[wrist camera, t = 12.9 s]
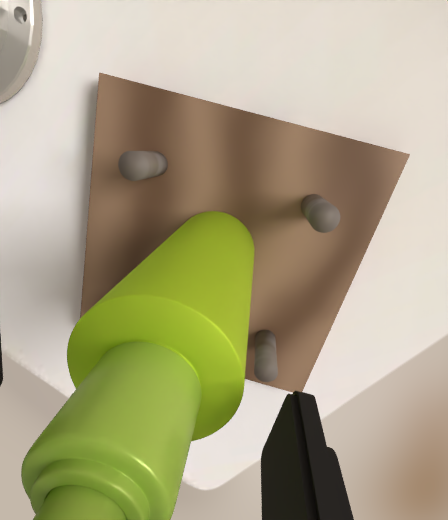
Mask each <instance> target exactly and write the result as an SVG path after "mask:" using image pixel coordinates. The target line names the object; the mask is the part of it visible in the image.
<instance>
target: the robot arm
mask: <svg viewBox="0 0 448 520" xmlns="http://www.w3.org/2000/svg"><path fill="white" fill-rule="evenodd" d="M42 21H43V18H42V7H41V0H0V103H2V102H4V101H6V100H8V99H10V98H11V97H12V96H13V95H14V94H16V93H17V92H18V91H19V90H20V89H21V88H22V87H23V85H24V84H25V82H26V81H27V80H28V78H29V77H30V75H31V73H32V70H33V68H34V66H35V63H36V61H37V58H38V54H39V49H40V45H41V39H42ZM2 371H3V370H2V352H1V335H0V385H1V384H2V381H3V372H2ZM261 486H262V487H261V492H262V520H354V519H353V515H352V511H351V507H350V504H349V500H348V496H347V492H346V488H345V485H344V481H343V477H342V474H341V470H340V466H339V462H338V458H337V456H336V454H335V451H334V450H333V449H332V448H330V447H327V446H326V442H325V437H324V433H323V429H322V425H321V420H320V416H319V412H318V408H317V404H316V399H315V397H314V396H313V395H311V394H307V393H303V392H300V391H294V392H293V394H287V396H286V398H285V400H284V402H283V405H282V407H281V409H280V412H279V414H278V416H277V418H276V421H275V423H274V425H273V427H272V430H271V432H270V434H269V437H268V439H267V441H266V443H265V446H264V448H263V451H262V456H261Z"/></svg>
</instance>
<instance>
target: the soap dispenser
mask: <svg viewBox="0 0 448 520" xmlns="http://www.w3.org/2000/svg"><path fill="white" fill-rule="evenodd" d="M253 265H254V243H253V239H252V237H251V234H250V233H249V231H248V229H247V228H246V227H245V226H244V224H243V223H242V222H240V221H239V220H238V219H237V218H235V217H233V216H231V215H229V214H227V213H223V212H218V211H208V212H203V213H200V214H197V215H195V216H193V217H191V218H190V219H189V220H188V221H186V222H185V223H184V224H183V225H182V226H181V227H180V228H179V229H178V230H176V231H175V232H174V233H173V234H172V235H171V236H170V237H169V238H168V239H167V240H165V241H164V242H163V243H162V244H161V245H160V246H159V247H158V248H157V249H156V250H154V251H153V252H152V253H151V254H150V255H149V256H148V257H147V258H146V259H145V260H143V261H142V262H141V263H140V264H139V265H138V266H137V267H136V268H135V269H134V270H132V271H131V272H130V273H129V274H128V275H127V276H126V277H125V278H124V279H123V280H121V281H120V282H119V283H118V284H117V285H116V286H115V287H114V288H113V289H112V290H110V291H109V292H108V293H107V294H106V295H105V296H104V297H103V298H102V299H100V300H99V301H98V302H97V303H96V304H95V305H94V306H93V307H92V308H91V309H89V310H88V311H87V312H86V313H85V314H84V315H83V316H82V317H81V318H80V320H79V321H78V322H77V324H76V325H75V327H74V329H73V331H72V333H71V336H70V339H69V342H68V348H67V362H68V368H69V372H70V376H71V379H72V381H73V383H74V386H75V387H76V390H75V392H74V393H73V394H72V395H71V397H70V398H69V399H68V401H67V402H66V403H65V404H64V406H63V407H62V408H61V409H60V411H59V412H58V413H57V414H56V416H55V417H54V418H53V420H52V421H51V422H50V423H49V425H48V426H47V427H46V429H45V430H44V431H43V432H42V434H41V435H40V436H39V437H38V439H37V440H36V441H35V443H34V444H33V445H32V447H31V448H30V450H29V451H28V453H27V455H26V457H25V458H24V461H23V464H22V474H21V476H22V483H23V486H24V489H25V491H26V493H27V495H28V497H29V499H30V501H31V505H32V508H33V510H34V512H35V514H36V515H35V517H34V519H33V520H170V519H171V516H172V514H173V511H174V507H175V504H176V500H177V496H178V492H179V488H180V484H181V480H182V476H183V472H184V468H185V464H186V460H187V456H188V452H189V447H190V443H191V441H194V440H198V439H201V438H204V437H207V436H209V435H211V434H213V433H214V432H216V431H218V430H219V429H221V428H222V427H223V426H224V425H225V424H227V423H228V422H229V420H230V419H231V418H232V417H233V416H234V414H235V413H236V411H237V409H238V407H239V405H240V403H241V400H242V396H243V391H244V381H245V368H246V355H247V342H248V329H249V317H250V304H251V291H252V278H253Z"/></svg>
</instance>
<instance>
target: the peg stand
mask: <svg viewBox="0 0 448 520" xmlns="http://www.w3.org/2000/svg"><path fill="white" fill-rule="evenodd" d="M409 155H410V154H407V153H403V152H399V151H395V150H391V149H388V148H384V147H380V146H376V145H372V144H369V143H365V142H361V141H357V140H353V139H350V138H346V137H342V136H338V135H334V134H331V133H327V132H323V131H319V130H315V129H312V128H308V127H304V126H300V125H296V124H293V123H289V122H285V121H281V120H277V119H274V118H270V117H266V116H262V115H259V114H255V113H251V112H247V111H243V110H240V109H236V108H232V107H228V106H224V105H221V104H217V103H213V102H209V101H205V100H202V99H198V98H194V97H190V96H186V95H183V94H179V93H175V92H171V91H167V90H164V89H160V88H156V87H152V86H148V85H145V84H141V83H137V82H133V81H129V80H126V79H122V78H118V77H114V76H110V75H107V74H103V73H99V83H98V96H97V109H96V122H95V135H94V147H93V160H92V173H91V186H90V199H89V212H88V225H87V238H86V251H85V264H84V277H83V289H82V302H81V315H80V318H81V317H82V316H83V315H84V314H85V313H86V312H87V311H88V310H89V309H91V308H92V307H93V306H94V305H95V304H96V303H97V302H98V301H99V300H100V299H102V298H103V297H104V296H105V295H106V294H107V293H108V292H109V291H110V290H112V289H113V288H114V287H115V286H116V285H117V284H118V283H119V282H120V281H121V280H123V279H124V278H125V277H126V276H127V275H128V274H129V273H130V272H131V271H132V270H134V269H135V268H136V267H137V266H138V265H139V264H140V263H141V262H142V261H143V260H145V259H146V258H147V257H148V256H149V255H150V254H151V253H152V252H153V251H154V250H156V249H157V248H158V247H159V246H160V245H161V244H162V243H163V242H164V241H165V240H167V239H168V238H169V237H170V236H171V235H172V234H173V233H174V232H175V231H176V230H178V229H179V228H180V227H181V226H182V225H183V224H184V223H185V222H186V221H188V220H189V219H190V218H191V217H193V216H195V215H197V214H200V213H203V212H208V211H218V212H223V213H227V214H229V215H231V216H233V217H235V218H237V219H238V220H239V221H240V222H242V223H243V224H244V226H245V227H246V228H247V229H248V231H249V233H250V234H251V237H252V239H253V243H254V265H253V278H252V291H251V304H250V317H249V329H248V342H247V355H246V368H245V379H248V380H251V381H255V382H258V383H262V384H265V385H269V386H272V387H276V388H279V389H283V390H286V391H290V392H294V391H300V392H302V391H303V389H304V386H305V384H306V382H307V380H308V378H309V375H310V373H311V371H312V369H313V367H314V364H315V362H316V360H317V358H318V356H319V353H320V351H321V349H322V347H323V345H324V342H325V340H326V338H327V336H328V334H329V331H330V329H331V327H332V325H333V323H334V320H335V318H336V316H337V314H338V312H339V309H340V307H341V305H342V303H343V301H344V298H345V296H346V294H347V292H348V290H349V287H350V285H351V283H352V281H353V279H354V276H355V274H356V272H357V270H358V268H359V265H360V263H361V261H362V259H363V257H364V254H365V252H366V250H367V248H368V246H369V243H370V241H371V239H372V237H373V235H374V232H375V230H376V228H377V226H378V224H379V221H380V219H381V217H382V215H383V213H384V210H385V208H386V206H387V204H388V202H389V199H390V197H391V195H392V193H393V191H394V188H395V186H396V184H397V182H398V180H399V177H400V175H401V173H402V171H403V169H404V166H405V164H406V162H407V160H408V158H409Z"/></svg>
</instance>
